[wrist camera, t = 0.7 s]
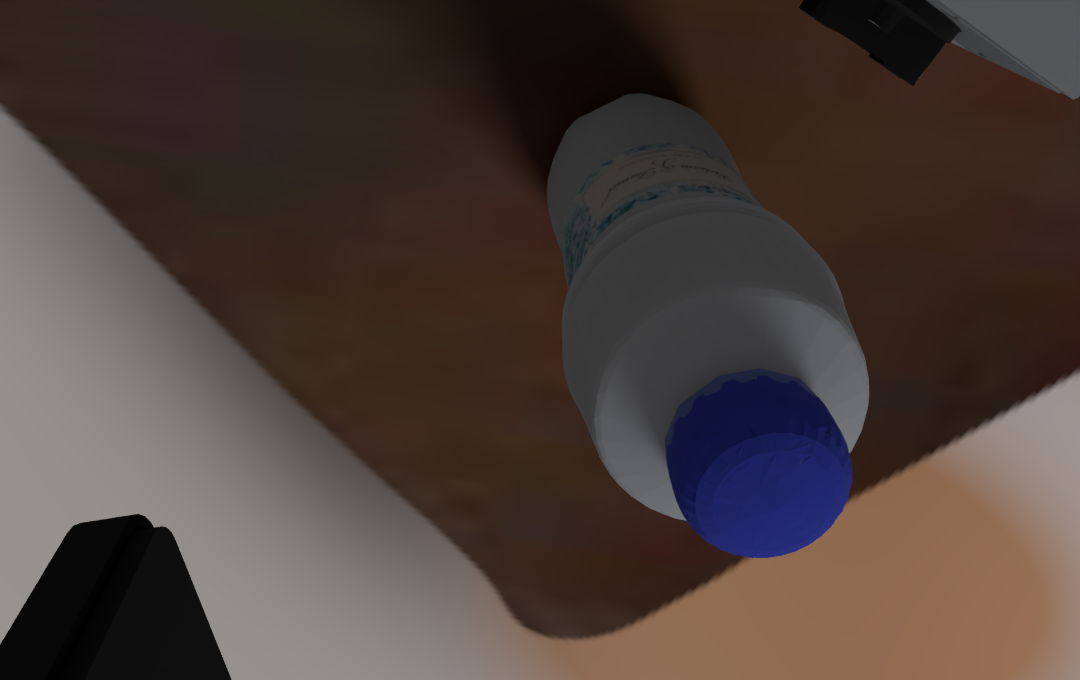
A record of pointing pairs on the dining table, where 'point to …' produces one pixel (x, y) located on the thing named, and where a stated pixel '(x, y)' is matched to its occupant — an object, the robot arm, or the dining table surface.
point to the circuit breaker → (964, 34)
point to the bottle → (702, 333)
